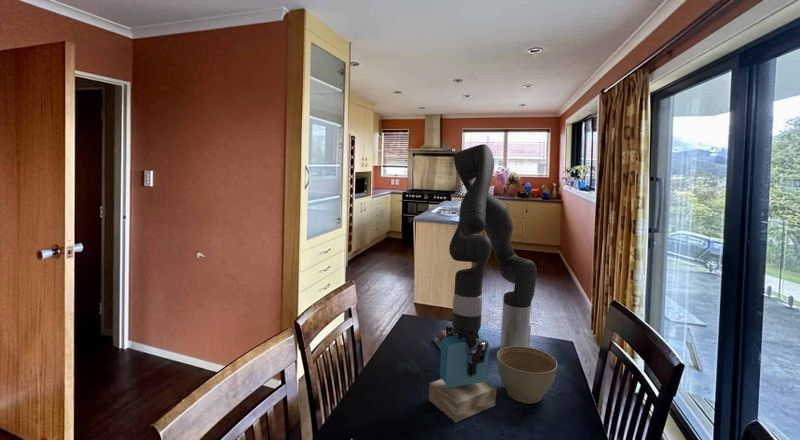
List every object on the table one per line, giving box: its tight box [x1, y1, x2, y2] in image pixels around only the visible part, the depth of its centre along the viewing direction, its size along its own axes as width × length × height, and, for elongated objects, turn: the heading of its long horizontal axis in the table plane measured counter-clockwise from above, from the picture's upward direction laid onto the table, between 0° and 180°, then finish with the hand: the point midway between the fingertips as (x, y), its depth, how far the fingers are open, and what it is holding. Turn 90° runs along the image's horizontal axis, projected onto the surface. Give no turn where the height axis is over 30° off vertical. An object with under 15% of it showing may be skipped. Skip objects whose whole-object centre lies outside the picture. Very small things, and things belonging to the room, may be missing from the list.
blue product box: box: [439, 333, 490, 387], centre depth 106 cm, size 12×4×12 cm, turn 108°
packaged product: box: [433, 329, 446, 351], centre depth 138 cm, size 18×5×10 cm
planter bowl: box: [496, 346, 558, 404], centre depth 112 cm, size 16×16×11 cm
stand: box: [428, 378, 497, 423], centre depth 107 cm, size 14×11×5 cm
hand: (463, 370), depth 106 cm, fingers closed on blue product box, 5 cm apart
